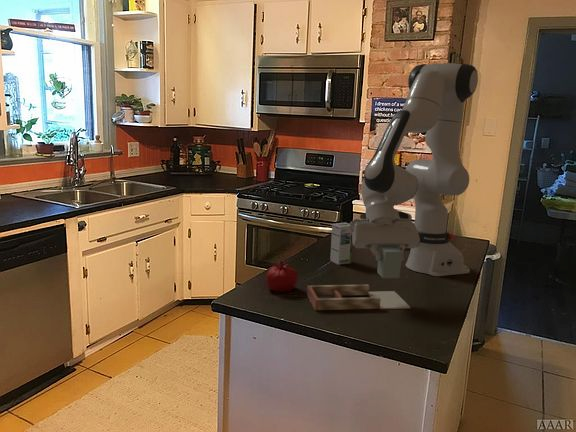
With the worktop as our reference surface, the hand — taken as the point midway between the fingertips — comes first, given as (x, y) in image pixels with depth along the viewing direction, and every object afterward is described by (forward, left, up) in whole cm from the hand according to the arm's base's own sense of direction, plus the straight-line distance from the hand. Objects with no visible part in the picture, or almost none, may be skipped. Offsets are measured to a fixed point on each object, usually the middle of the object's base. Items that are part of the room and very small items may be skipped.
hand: (390, 259), depth 141 cm
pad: (-1, -1, -13) cm, 13 cm away
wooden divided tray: (+13, -1, -13) cm, 18 cm away
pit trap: (+18, -1, -13) cm, 23 cm away
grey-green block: (0, 0, -5) cm, 5 cm away
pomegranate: (+30, -12, -13) cm, 35 cm away
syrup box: (+4, -38, -13) cm, 40 cm away
